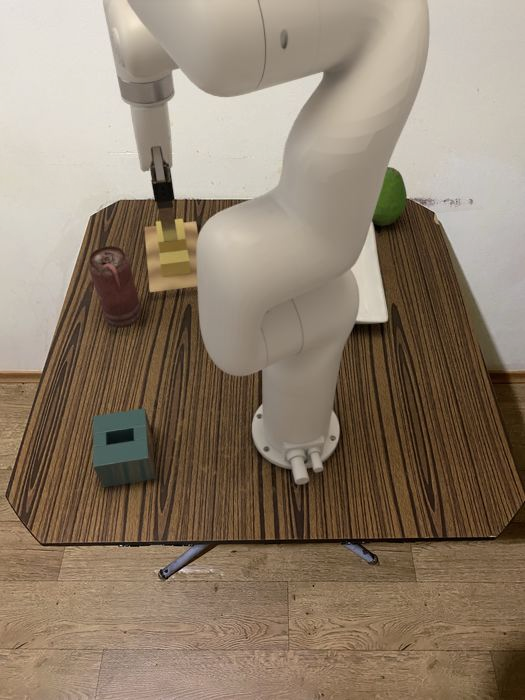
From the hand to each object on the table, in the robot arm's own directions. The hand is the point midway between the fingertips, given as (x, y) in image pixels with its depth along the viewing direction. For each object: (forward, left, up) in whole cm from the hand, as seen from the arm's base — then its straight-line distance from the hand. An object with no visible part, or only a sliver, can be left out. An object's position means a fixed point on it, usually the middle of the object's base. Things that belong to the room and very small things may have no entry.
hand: (164, 194), depth 94 cm
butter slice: (-3, 0, -14) cm, 14 cm away
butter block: (+4, 0, -14) cm, 15 cm away
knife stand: (-39, +10, -15) cm, 43 cm away
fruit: (+5, -41, -16) cm, 44 cm away
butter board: (+1, 0, -15) cm, 15 cm away
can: (-12, +10, -16) cm, 22 cm away
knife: (0, 0, -10) cm, 10 cm away
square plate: (-8, -22, -16) cm, 28 cm away
